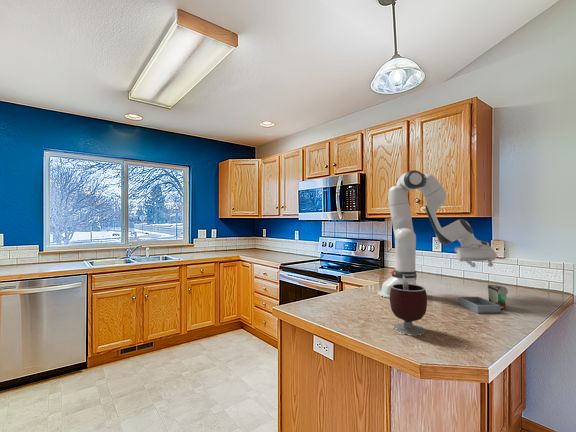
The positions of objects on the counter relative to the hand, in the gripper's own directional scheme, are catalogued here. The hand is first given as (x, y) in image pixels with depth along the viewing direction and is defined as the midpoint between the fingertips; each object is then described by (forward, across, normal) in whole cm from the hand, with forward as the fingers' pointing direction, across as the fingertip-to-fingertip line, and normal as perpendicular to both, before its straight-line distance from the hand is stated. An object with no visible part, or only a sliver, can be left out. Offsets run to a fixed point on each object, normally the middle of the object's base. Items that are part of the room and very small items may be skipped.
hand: (482, 266), depth 167 cm
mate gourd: (+43, -58, -18) cm, 74 cm away
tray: (+23, -12, +2) cm, 26 cm away
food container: (+23, -1, +3) cm, 23 cm away
